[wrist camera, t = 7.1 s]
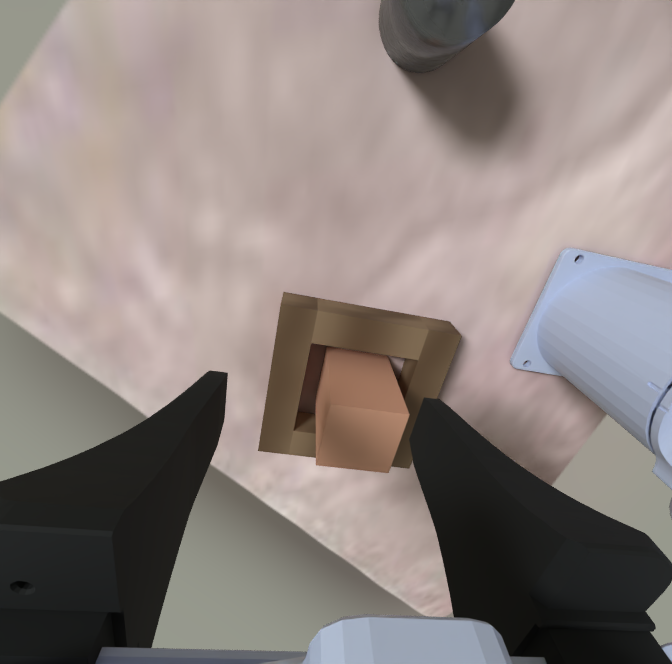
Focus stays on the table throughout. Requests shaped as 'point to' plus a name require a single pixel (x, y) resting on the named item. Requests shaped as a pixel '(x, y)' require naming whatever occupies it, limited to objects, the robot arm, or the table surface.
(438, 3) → the metal cylinder
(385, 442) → the terracotta block
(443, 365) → the walnut collar
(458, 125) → the table surface
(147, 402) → the table surface
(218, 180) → the table surface
